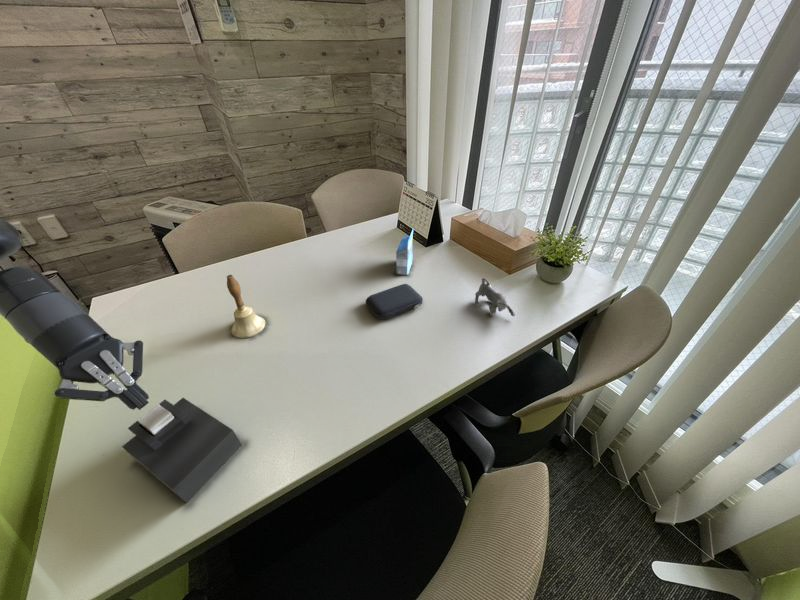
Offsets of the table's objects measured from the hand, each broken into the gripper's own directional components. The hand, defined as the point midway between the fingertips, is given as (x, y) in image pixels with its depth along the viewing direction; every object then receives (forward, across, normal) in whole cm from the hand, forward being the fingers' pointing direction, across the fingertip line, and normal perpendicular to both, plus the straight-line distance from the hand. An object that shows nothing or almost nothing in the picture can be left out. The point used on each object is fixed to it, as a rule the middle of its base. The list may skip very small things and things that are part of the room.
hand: (144, 405), depth 54 cm
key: (+4, 0, +3) cm, 5 cm away
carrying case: (+20, +54, -4) cm, 58 cm away
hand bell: (-1, +28, +17) cm, 33 cm away
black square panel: (+11, 0, +4) cm, 12 cm away
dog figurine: (+38, +66, -22) cm, 79 cm away
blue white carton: (+15, +73, +1) cm, 75 cm away
